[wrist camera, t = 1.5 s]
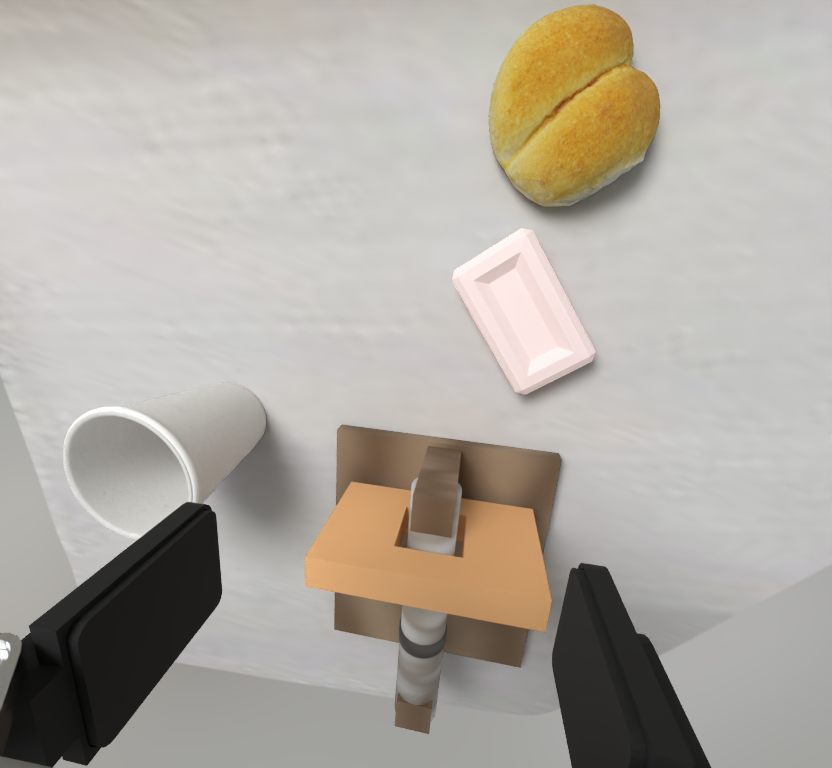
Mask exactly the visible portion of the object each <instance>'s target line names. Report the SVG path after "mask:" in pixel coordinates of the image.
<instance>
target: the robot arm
mask: <svg viewBox="0 0 832 768" xmlns="http://www.w3.org/2000/svg"><path fill="white" fill-rule="evenodd" d="M221 595H222V583H221V571H220V558H219V546H218V533H217V521H216V514H215V512H213V511H212V510H211V507H210V506H209V505H206V504H199V503H193V502H186V503H184V504H182V505H181V506H180V507H178V508H177V509H176V510H175V511H173V512H172V513H171V514H170V515H168V516H167V517H166V518H165V519H163V520H162V521H161V522H160V523H158V524H157V525H156V526H154V527H153V528H152V529H151V530H149V531H148V532H147V533H146V534H144V535H143V536H142V537H141V538H139V539H138V540H137V541H136V542H134V543H133V544H132V545H130V546H129V547H128V548H127V549H125V550H124V551H123V552H122V553H120V554H119V555H118V556H117V557H115V558H114V559H113V560H112V561H110V562H109V563H108V564H106V565H105V566H104V567H103V568H101V569H100V570H99V571H98V572H96V573H95V574H94V575H93V576H91V577H90V578H89V579H88V580H86V581H85V582H84V583H82V584H81V585H80V586H79V587H77V588H76V589H75V590H74V591H73V592H71V593H70V594H69V595H68V596H66V597H65V598H64V599H62V600H61V601H60V602H59V603H57V604H56V605H55V606H53V607H52V608H51V609H50V610H48V611H47V612H46V613H45V614H43V615H42V616H41V617H40V618H38V619H37V620H36V621H34V622H33V623H32V624H31V625H29V628H30V632H31V633H29V634H28V635H27V636H26V637H25V638H23V639H22V640H20V639H19V637H18V636H17V635H14V634H11V633H0V768H52V767H53V766H54V765H55V764H56V763H57V761H58V760H59V759H60V758H61V757H63V760H66V761H70V762H74V763H78V764H82V765H88V764H89V762H90V761H91V760H92V759H93V757H94V756H95V755H96V753H97V752H98V751H99V750H100V748H101V747H106V746H107V745H109V744H110V743H111V742H112V741H113V740H114V739H115V738H116V736H117V735H118V734H119V732H120V731H121V730H122V728H123V727H124V726H125V725H126V723H127V722H128V721H129V719H130V718H131V717H132V716H133V714H134V713H135V712H136V710H137V709H138V708H139V706H140V705H141V704H142V703H143V701H144V700H145V699H146V697H147V696H148V695H149V694H150V692H151V691H152V690H153V688H154V687H155V686H156V685H157V683H158V682H159V681H160V679H161V678H162V677H163V675H164V674H165V673H166V672H167V670H168V669H169V668H170V666H171V665H172V664H173V663H174V661H175V660H176V659H177V657H178V656H179V655H180V653H181V652H182V651H183V650H184V648H185V647H186V646H187V644H188V643H189V642H190V641H191V639H192V638H193V637H194V635H195V634H196V633H197V632H198V630H199V629H200V628H201V626H202V625H203V624H204V622H205V621H206V620H207V619H208V617H209V616H210V615H211V613H212V612H213V611H214V610H215V608H216V607H217V605H218V604H219V602H220V599H221ZM552 667H553V673H554V678H555V683H556V688H557V693H558V698H559V703H560V709H561V714H562V719H563V724H564V729H565V734H566V739H567V744H568V749H569V754H570V759H571V765H572V768H711V766H710V764H709V762H708V760H707V758H706V756H705V754H704V752H703V749H702V747H701V746H700V743H699V741H698V739H697V737H696V735H695V733H694V731H693V729H692V726H691V725H690V722H689V720H688V718H687V716H686V714H685V712H684V710H683V708H682V705H681V704H680V701H679V699H678V697H677V695H676V693H675V691H674V689H673V687H672V685H671V683H670V680H669V678H668V676H667V674H666V672H665V670H664V668H663V666H662V664H661V661H660V659H659V657H658V655H657V653H656V651H655V649H654V647H653V645H652V643H651V642H650V640H649V638H648V637H646V636H645V635H643V634H638V633H636V631H635V629H634V626H633V624H632V622H631V620H630V617H629V615H628V613H627V611H626V608H625V606H624V604H623V602H622V600H621V597H620V595H619V593H618V591H617V588H616V586H615V584H614V582H613V579H612V577H611V575H610V573H609V571H608V569H607V568H606V567H604V566H598V565H591V564H585V563H581V564H580V565H579V567H578V569H576V568H572V569H571V571H570V575H569V579H568V584H567V588H566V593H565V598H564V602H563V607H562V611H561V616H560V620H559V625H558V629H557V634H556V639H555V643H554V648H553V653H552Z"/></svg>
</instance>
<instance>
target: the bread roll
mask: <svg viewBox="0 0 832 768" xmlns="http://www.w3.org/2000/svg"><path fill="white" fill-rule="evenodd" d="M632 57H633V39H632V33H631V30H630V28H629V26H628V25H627V23H626V22H625V21H624V19H623V18H622V17H621V16H619V15H618V14H617V13H615V12H613V11H611V10H609V9H606V8H604V7H600V6H596V5H580V6H574V7H569V8H565V9H562V10H559V11H556V12H554V13H551V14H549V15H547V16H545V17H543V18H542V19H540V20H538V21H537V22H536V23H534V24H533V25H531V26H530V27H529V28H528V29H527V30H526V31H524V32H523V33H522V34H521V35H520V36H519V37H518V38H517V40H516V41H515V42H514V44H513V45H512V47H511V49H510V50H509V52H508V53H507V55H506V57H505V59H504V61H503V63H502V65H501V67H500V70H499V72H498V75H497V78H496V81H495V83H494V87H493V91H492V95H491V102H490V109H489V132H490V139H491V145H492V149H493V152H494V155H495V157H496V159H497V161H498V162H499V164H500V165H501V166H502V168H503V169H504V170H505V173H506V175H507V176H508V178H509V180H510V181H511V183H512V184H513V186H514V187H515V188H516V189H517V190H518V191H519V192H521V193H522V194H523V195H524V196H526V197H527V198H528V199H530V200H532V201H534V202H535V203H537V204H539V205H542V206H545V207H549V206H550V207H553V206H571V205H573V204H574V203H577V202H579V201H580V200H582V199H584V198H586V197H588V196H590V195H592V194H594V193H595V192H597V191H599V190H600V189H601V188H603V187H604V186H607V185H609V184H611V183H612V182H614V181H615V180H616V179H617V178H618V177H619V176H620V175H622V174H623V173H626V172H628V171H630V170H631V169H632V168H633V167H634V166H636V165H637V164H639V163H641V162H642V161H643V160H644V156H645V153H646V150H647V148H648V146H649V145H650V143H651V141H652V140H653V138H654V136H655V133H656V131H657V128H658V124H659V119H660V100H659V94H658V90H657V87H656V85H655V84H654V82H653V81H652V80H651V79H650V78H649V77H648V76H647V75H646V74H645V73H643V72H642V71H639V70H636V69H634V68H632V66H631V61H632Z"/></svg>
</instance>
